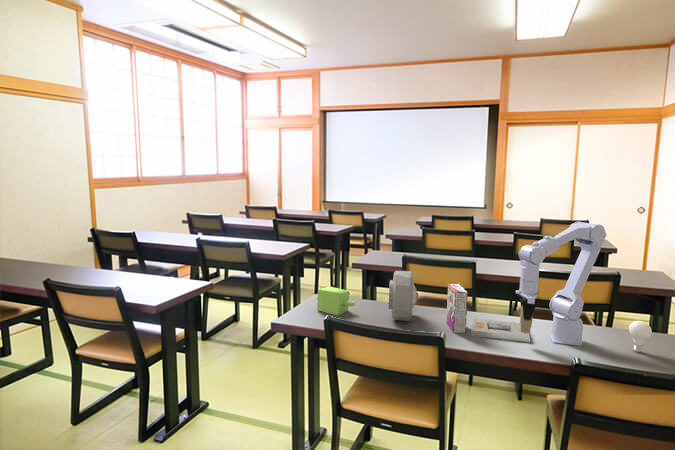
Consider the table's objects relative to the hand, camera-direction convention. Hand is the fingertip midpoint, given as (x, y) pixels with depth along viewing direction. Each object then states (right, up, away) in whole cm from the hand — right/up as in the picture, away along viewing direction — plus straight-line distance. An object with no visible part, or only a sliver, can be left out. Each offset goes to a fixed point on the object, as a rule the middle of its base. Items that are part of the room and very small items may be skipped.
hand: (526, 317), depth 152 cm
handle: (0, -6, +1) cm, 6 cm away
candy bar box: (-20, -8, +17) cm, 28 cm away
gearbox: (-67, -5, +35) cm, 76 cm away
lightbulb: (+38, -12, -2) cm, 39 cm away
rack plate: (-5, -9, +14) cm, 17 cm away
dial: (-39, -6, +26) cm, 48 cm away
